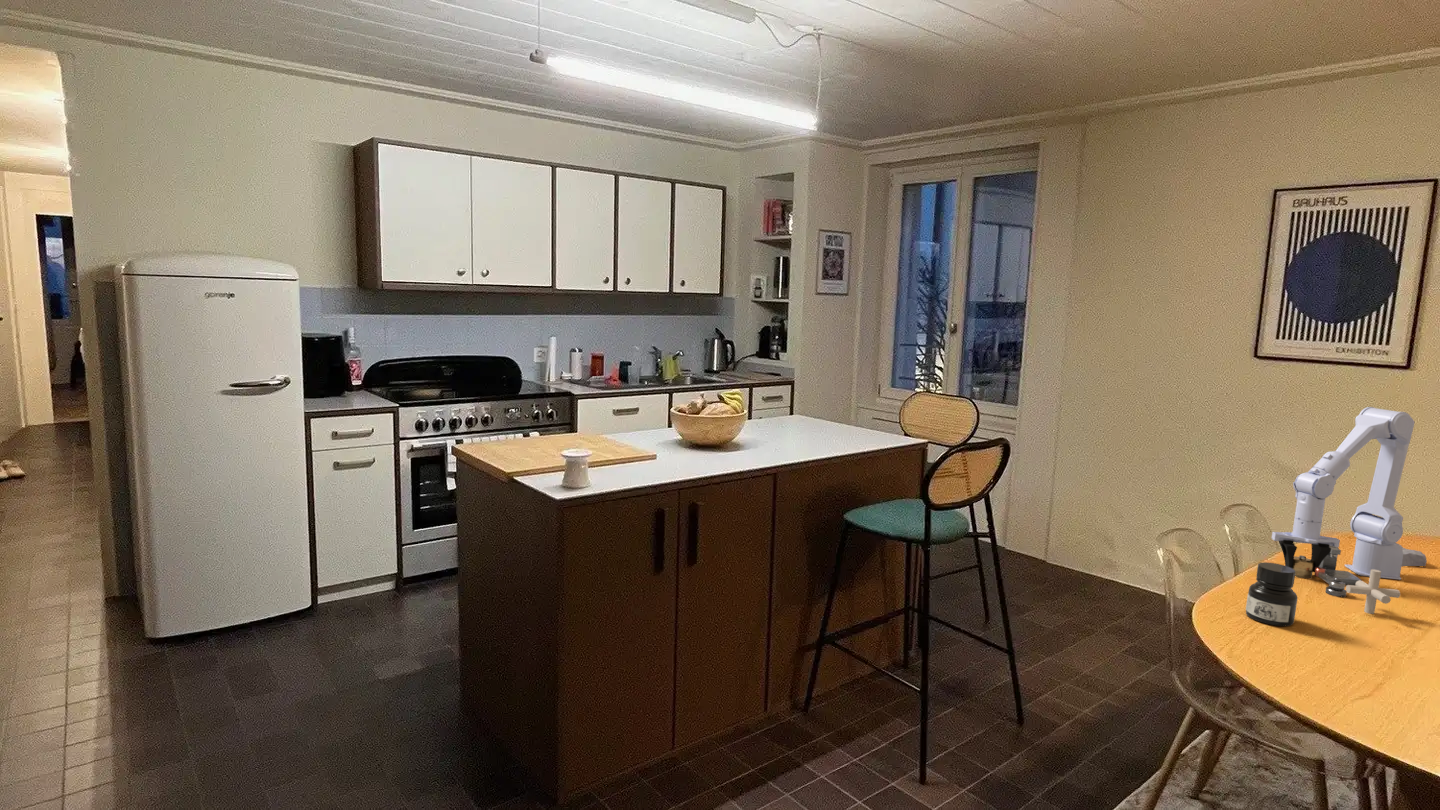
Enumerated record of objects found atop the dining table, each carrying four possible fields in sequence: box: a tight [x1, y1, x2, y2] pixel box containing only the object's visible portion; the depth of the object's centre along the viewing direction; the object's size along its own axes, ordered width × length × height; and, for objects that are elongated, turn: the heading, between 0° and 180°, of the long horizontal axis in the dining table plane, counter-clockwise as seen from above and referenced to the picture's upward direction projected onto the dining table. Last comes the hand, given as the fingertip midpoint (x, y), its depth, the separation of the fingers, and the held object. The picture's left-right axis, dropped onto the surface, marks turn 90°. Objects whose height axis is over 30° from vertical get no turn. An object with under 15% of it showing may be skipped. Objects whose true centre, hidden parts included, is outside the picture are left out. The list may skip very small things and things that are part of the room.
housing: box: [1292, 555, 1314, 580], centre depth 206 cm, size 5×5×5 cm
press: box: [1319, 546, 1363, 586], centre depth 206 cm, size 7×12×7 cm, turn 165°
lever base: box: [1324, 577, 1347, 598], centre depth 193 cm, size 4×4×4 cm
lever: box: [1314, 567, 1346, 591], centre depth 197 cm, size 3×11×2 cm, turn 165°
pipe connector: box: [1345, 569, 1401, 615], centre depth 181 cm, size 10×10×10 cm
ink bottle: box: [1245, 561, 1298, 627], centre depth 175 cm, size 10×9×12 cm
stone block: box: [1399, 544, 1427, 567], centre depth 222 cm, size 12×5×10 cm
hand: (1300, 569), depth 206 cm, fingers closed on housing, 5 cm apart
